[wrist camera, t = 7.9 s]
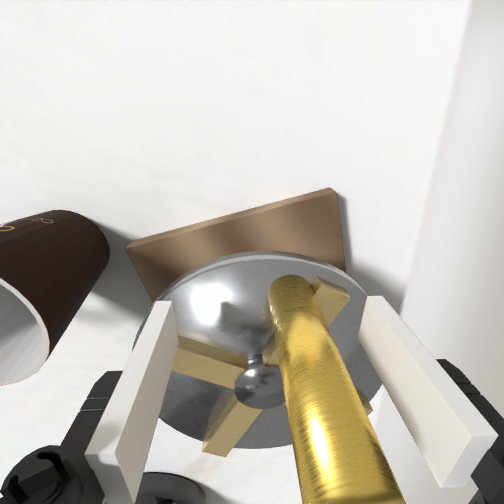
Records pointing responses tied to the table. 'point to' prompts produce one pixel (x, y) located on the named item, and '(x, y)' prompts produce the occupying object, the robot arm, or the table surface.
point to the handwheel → (279, 370)
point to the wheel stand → (243, 238)
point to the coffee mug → (43, 284)
